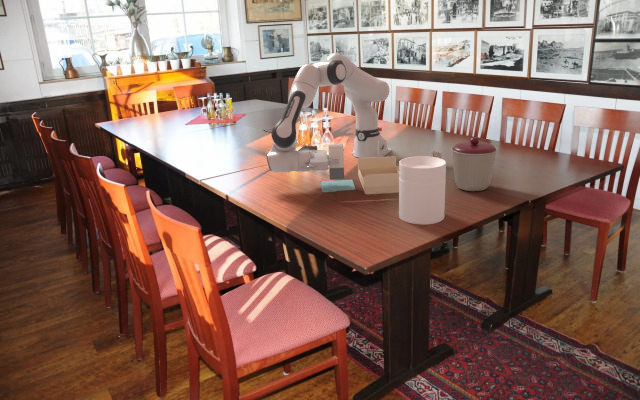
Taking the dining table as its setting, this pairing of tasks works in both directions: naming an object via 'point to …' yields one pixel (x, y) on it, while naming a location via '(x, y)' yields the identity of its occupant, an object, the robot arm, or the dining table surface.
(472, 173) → the canister
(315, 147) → the beverage carton
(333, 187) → the mat
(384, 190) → the beige open box
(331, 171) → the box
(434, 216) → the canister
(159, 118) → the dining table surface
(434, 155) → the architectural model
